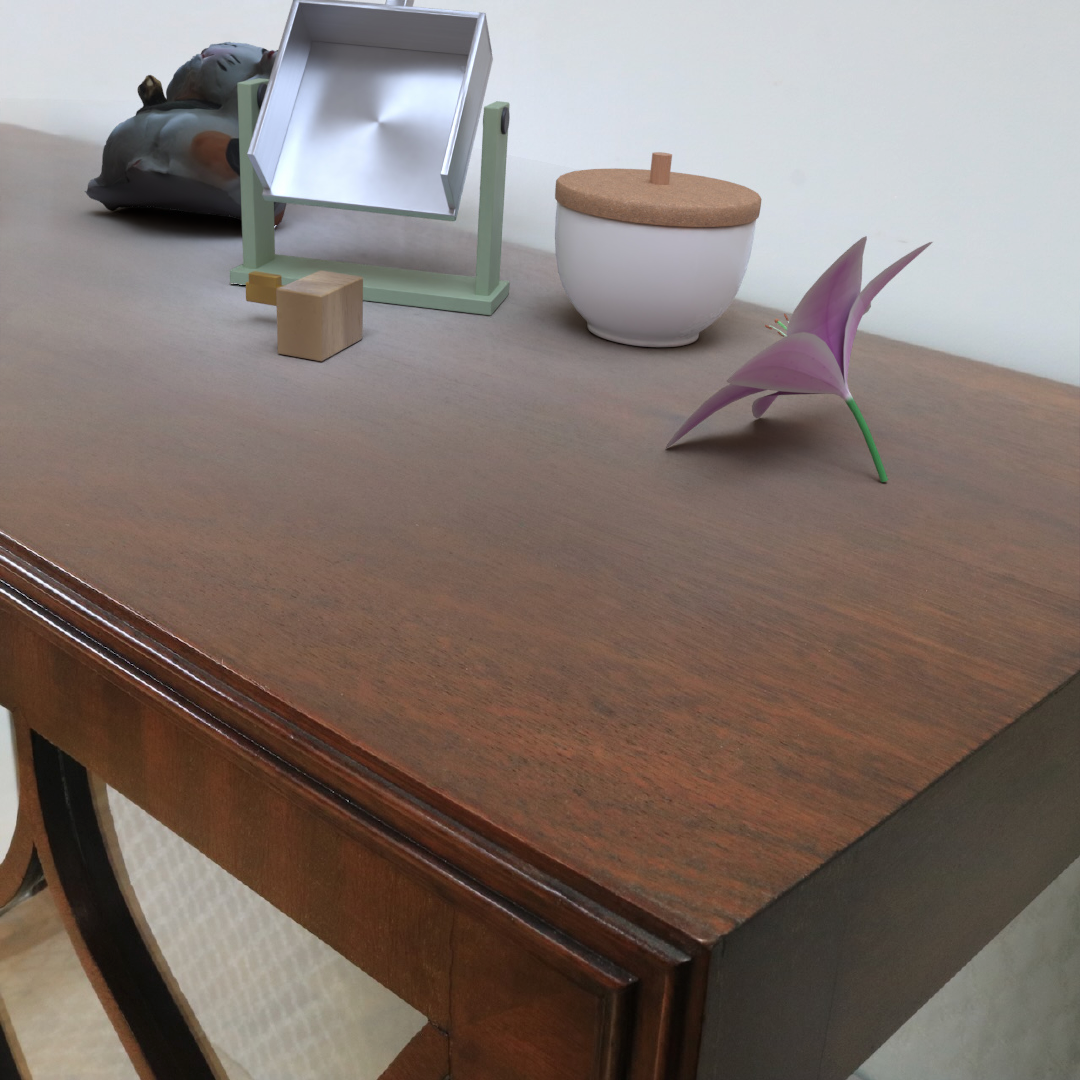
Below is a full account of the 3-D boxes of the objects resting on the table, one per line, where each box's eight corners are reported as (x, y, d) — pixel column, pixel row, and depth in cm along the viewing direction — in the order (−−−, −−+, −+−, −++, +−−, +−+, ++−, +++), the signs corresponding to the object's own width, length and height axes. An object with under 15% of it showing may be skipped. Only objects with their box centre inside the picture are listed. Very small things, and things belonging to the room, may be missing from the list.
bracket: (262, 265, 74) (258, 75, 70) (508, 294, 72) (520, 101, 68) (229, 284, 70) (222, 83, 65) (490, 315, 68) (502, 110, 63)
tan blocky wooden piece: (367, 274, 61) (321, 295, 57) (366, 337, 63) (321, 362, 58) (253, 257, 63) (200, 276, 59) (255, 318, 64) (204, 341, 60)
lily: (883, 434, 58) (815, 240, 56) (1070, 421, 47) (991, 180, 45) (673, 539, 55) (593, 336, 53) (822, 552, 44) (727, 296, 42)
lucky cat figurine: (67, 201, 86) (123, 13, 87) (229, 264, 93) (280, 88, 93) (120, 174, 74) (185, -46, 74) (303, 249, 80) (361, 46, 81)
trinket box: (684, 302, 74) (705, 139, 70) (778, 356, 65) (807, 173, 61) (517, 307, 70) (528, 135, 66) (591, 365, 61) (610, 170, 57)
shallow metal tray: (343, -71, 74) (328, -122, 70) (520, -57, 72) (514, -108, 69) (264, 201, 68) (244, 160, 64) (455, 222, 66) (445, 181, 63)
